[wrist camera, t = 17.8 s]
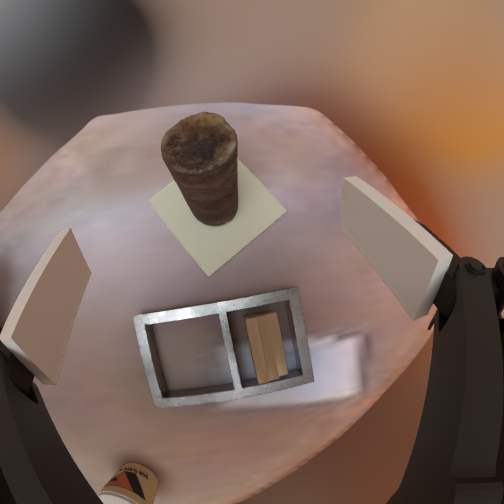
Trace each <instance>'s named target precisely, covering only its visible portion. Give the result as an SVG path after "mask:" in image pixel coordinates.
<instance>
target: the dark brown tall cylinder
mask: <svg viewBox="0 0 504 504" xmlns="http://www.w3.org/2000/svg"><path fill="white" fill-rule="evenodd" d="M161 152H162V158H163V160H164V162H165V164H166V165H167V167H168V169H169V171H170V173H171V175H172V176H173V178H174V180H175V182H176V184H177V185H178V187H179V189H180V191H181V193H182V195H183V197H184V199H185V201H186V203H187V205H188V206H189V208H190V210H191V212H192V213H193V215H194V216H195V218H196V219H197V220H198V221H200V222H201V223H203V224H205V225H209V226H220V225H224V224H226V223H228V222H230V221H231V220H232V219H233V218H234V217H235V215H236V213H237V210H238V172H237V168H238V163H237V156H238V155H237V135H236V133H235V130H234V129H233V128H232V127H231V126H230V125H229V124H228V123H227V122H226V121H225V119H224V117H222V116H220V115H218V114H215V113H208V112H201V113H198V114H196V115H191V116H189V117H186V118H185V119H183V120H180V121H179V123H177V124H176V125H175V126H173V127H172V128H171V129H169V131H167V132H166V133H165V135H164V137H163V139H162V143H161Z"/></svg>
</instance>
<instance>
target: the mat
mask: <svg viewBox="0 0 504 504" xmlns="http://www.w3.org/2000/svg"><path fill="white" fill-rule="evenodd" d="M237 163H238V168H237V172H238V210H237V213H236V215H235V217H234V218H233V219H232V220H231V221H230V222H228V223H226V224H224V225H220V226H209V225H205V224H203V223H201V222H200V221H198V220H197V219H196V218H195V216H194V215H193V213H192V212H191V210H190V208H189V206H188V205H187V203H186V201H185V199H184V197H183V195H182V193H181V191H180V189H179V187H178V185H177V184H176V182H175V180H173V181H172V182H171V183H170V184H168V185H167V186H166V187H164V188H163V189H162V190H161V191H159V192H158V193H157V194H156V195H155V196H153V197H152V198H151V199H150V200H148V202H149V203H150V204H151V206H152V207H153V208H154V210H155V211H156V212H157V214H158V215H159V216H160V217H161V219H162V220H163V221H164V223H165V224H166V225H167V226H168V228H169V229H170V230H171V231H172V233H173V234H174V235H175V237H176V238H177V239H178V240H179V242H180V243H181V244H182V245H183V247H184V248H185V249H186V250H187V252H188V253H189V254H190V255H191V256H192V258H193V259H194V260H195V261H196V263H197V264H198V265H199V266H200V267H201V269H202V270H203V271H204V272H205V273H206V275H207V276H208V277H210V276H211V275H212V274H214V273H215V272H216V271H217V270H218V269H219V268H221V267H222V266H223V265H224V264H225V263H227V262H228V261H229V260H230V259H231V258H233V257H234V256H235V255H236V254H237V253H238V252H240V251H241V250H242V249H243V248H244V247H246V246H247V245H248V244H249V243H250V242H252V241H253V240H254V239H255V238H256V237H258V236H259V235H260V234H261V233H262V232H264V231H265V230H266V229H267V228H268V227H269V226H271V225H272V224H273V223H274V222H275V221H277V220H278V219H279V218H280V217H281V216H283V215H284V214H285V213H286V212H287V210H286V209H285V208H284V207H283V206H282V205H281V204H280V203H279V201H278V200H277V199H276V198H275V197H274V196H273V195H272V194H271V193H270V192H269V191H268V190H267V188H266V187H265V186H264V185H263V184H262V183H261V182H260V181H259V180H258V179H257V178H256V177H255V176H254V175H253V174H252V173H251V172H250V170H249V169H248V168H247V167H246V166H245V165H244V164H243V163H242V162H241V161H240V160H239V159H238V158H237Z"/></svg>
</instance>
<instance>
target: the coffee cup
mask: <svg viewBox="0 0 504 504" xmlns="http://www.w3.org/2000/svg"><path fill="white" fill-rule="evenodd" d="M157 487H158V479H157V477H156V476H155V474H154V473H153V472H152V471H151V470H149V469H148V468H146V467H144V466H142V465H140V464H136V463H127V464H124V465H123V466H122V467H121V468H120V469H119V470H118V471H117V472H116V474H115V475H114V476H113V477H112V478H111V479H110V481H109V482H108V483H107V484H106V485H105V486H104V488H103V489H102V490H101V491H100V492H98V493H97V496H98V497H99V498H100V499H101V501H102V502H103V503H104V504H153V503H154V499H155V495H156V491H157Z"/></svg>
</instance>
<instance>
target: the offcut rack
mask: <svg viewBox="0 0 504 504" xmlns="http://www.w3.org/2000/svg"><path fill="white" fill-rule="evenodd" d="M280 301H285V304H286V309H287V315H288V320H289V325H290V330H291V336H292V341H293V347H294V352H295V358H296V363H297V369H296V370H292V371H288V374H286V375H282V376H279V379H275V380H270V381H269V382H267V383H262V384H259V383H258V380H257V378H256V379H251V380H246V381H241V378H240V374H239V369H238V365H237V360H236V355H235V351H234V346H233V341H232V336H231V331H230V326H229V321H228V316H227V312H229V311H234V310H240V309H245V308H250V307H255V306H260V305H265V304H270V303H275V302H280ZM217 313H219V318H220V323H221V328H222V333H223V337H224V342H225V347H226V352H227V356H228V361H229V365H230V370H231V374H232V379H233V383H229V384H223V385H216V386H209V387H202V388H194V389H185V390H175V391H167V388H166V384H165V381H164V377H163V373H162V369H161V365H160V361H159V357H158V352H157V348H156V343H155V339H154V334H153V329H152V324H153V323H161V322H168V321H174V320H181V319H187V318H194V317H200V316H206V315H212V314H217ZM133 318H134V324H135V329H136V334H137V338H138V343H139V348H140V352H141V356H142V360H143V364H144V368H145V372H146V376H147V380H148V384H149V387H150V391H151V394H152V397H153V401H154V404H155V407H156V408H163V407H177V406H188V405H197V404H205V403H213V402H220V401H227V400H233V399H239V398H245V397H250V396H255V395H260V394H265V393H270V392H274V391H279V390H283V389H287V388H291V387H295V386H299V385H303V384H307V383H310V382H314V377H313V371H312V365H311V359H310V353H309V347H308V341H307V336H306V330H305V325H304V319H303V314H302V309H301V303H300V298H299V293H298V288H297V287H293V288H288V289H283V290H279V291H274V292H269V293H264V294H259V295H253V296H248V297H243V298H238V299H232V300H227V301H221V302H216V303H210V304H204V305H198V306H192V307H186V308H180V309H173V310H167V311H160V312H154V313H147V314H140V315H135V316H133Z"/></svg>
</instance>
